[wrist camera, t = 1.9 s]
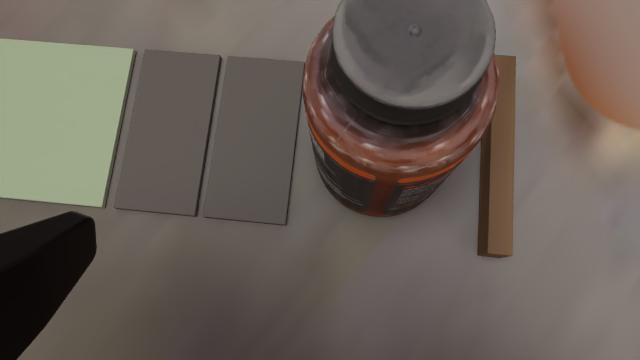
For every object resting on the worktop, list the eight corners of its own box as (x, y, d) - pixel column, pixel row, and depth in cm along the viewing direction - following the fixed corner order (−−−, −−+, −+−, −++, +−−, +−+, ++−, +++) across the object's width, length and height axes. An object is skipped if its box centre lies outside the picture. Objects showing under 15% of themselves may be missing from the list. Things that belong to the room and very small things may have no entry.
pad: (136, 51, 24) (133, 49, 24) (104, 208, 22) (101, 207, 22) (-27, 39, 25) (-31, 36, 24) (-69, 191, 23) (-75, 189, 23)
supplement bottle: (466, 138, 22) (589, -4, 11) (399, 244, 22) (463, 201, 10) (359, 74, 23) (377, -114, 12) (290, 173, 22) (244, 65, 11)
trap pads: (305, 64, 24) (304, 62, 23) (285, 225, 22) (285, 224, 22) (147, 52, 24) (145, 49, 24) (116, 208, 22) (113, 207, 22)
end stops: (504, 70, 23) (515, 56, 22) (500, 257, 21) (512, 255, 20) (-48, 28, 25) (-73, 11, 23) (-98, 197, 23) (-128, 192, 21)
